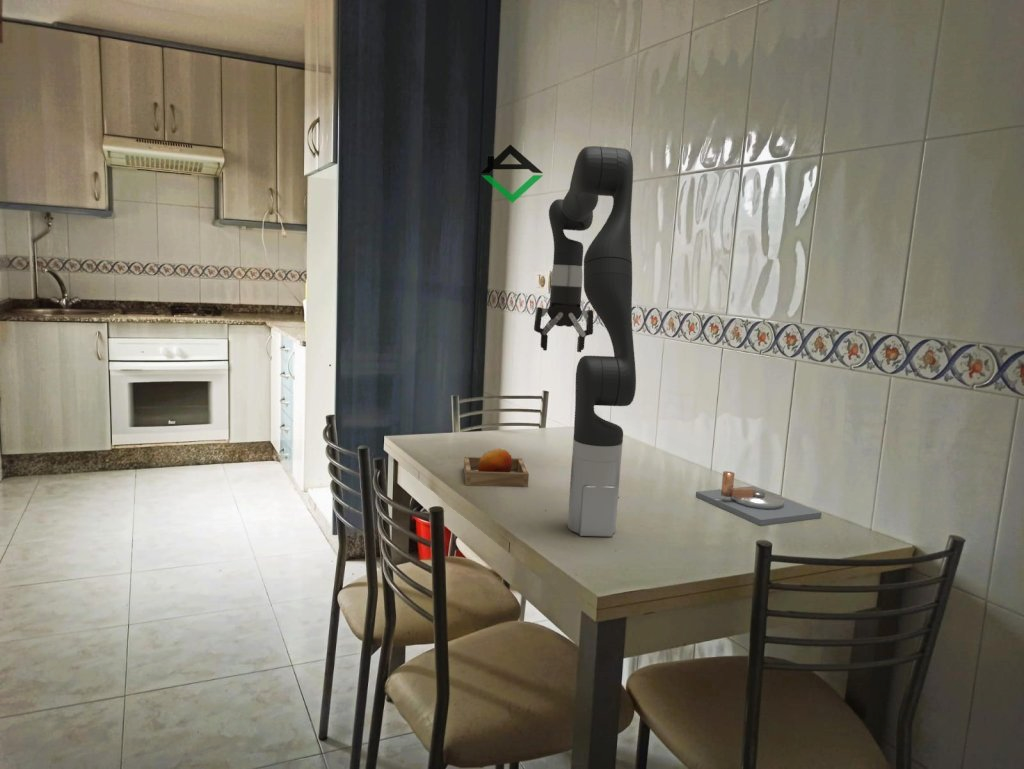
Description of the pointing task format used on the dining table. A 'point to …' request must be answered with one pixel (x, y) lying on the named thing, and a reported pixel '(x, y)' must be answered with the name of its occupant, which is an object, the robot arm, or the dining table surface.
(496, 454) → the fruit
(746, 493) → the silver and copper crank
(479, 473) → the wooden tray
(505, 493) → the dining table surface
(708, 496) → the plate
